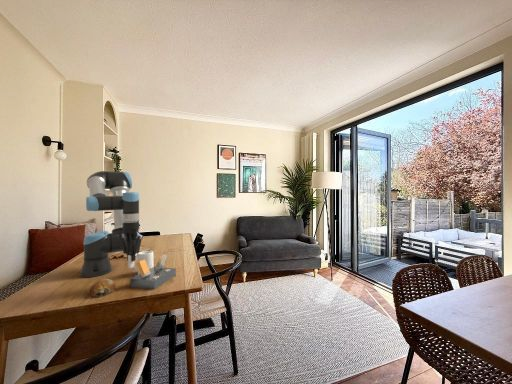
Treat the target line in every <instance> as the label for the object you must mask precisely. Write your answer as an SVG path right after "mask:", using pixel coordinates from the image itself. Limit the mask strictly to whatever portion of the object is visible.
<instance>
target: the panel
mask: <svg viewBox="0 0 512 384" xmlns="http://www.w3.org/2000/svg"><path fill="white" fill-rule="evenodd" d="M167 258H168V255H167V254H165V253H164V254H162V255H160V256H159V258H158V259H157V262H156V265H155V266H153V267H152V268H150V269H149V271H150V272H151V274H149V275H147V276H146V277H144V278H142V277H141V274H138V273H137V275H134V276H132V277H130V278H129V283H130V284H129V287H130V288H131V287H132V288H140V289H149V290H156V289H158V288H159V287H160V286H162V285H164V284H165V283H167V282H168V281H169V280H171V279H173V278H175V277H176V274H177V271H176V267H175V268H174V267H164V265H165V263H166V260H167Z"/></svg>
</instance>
